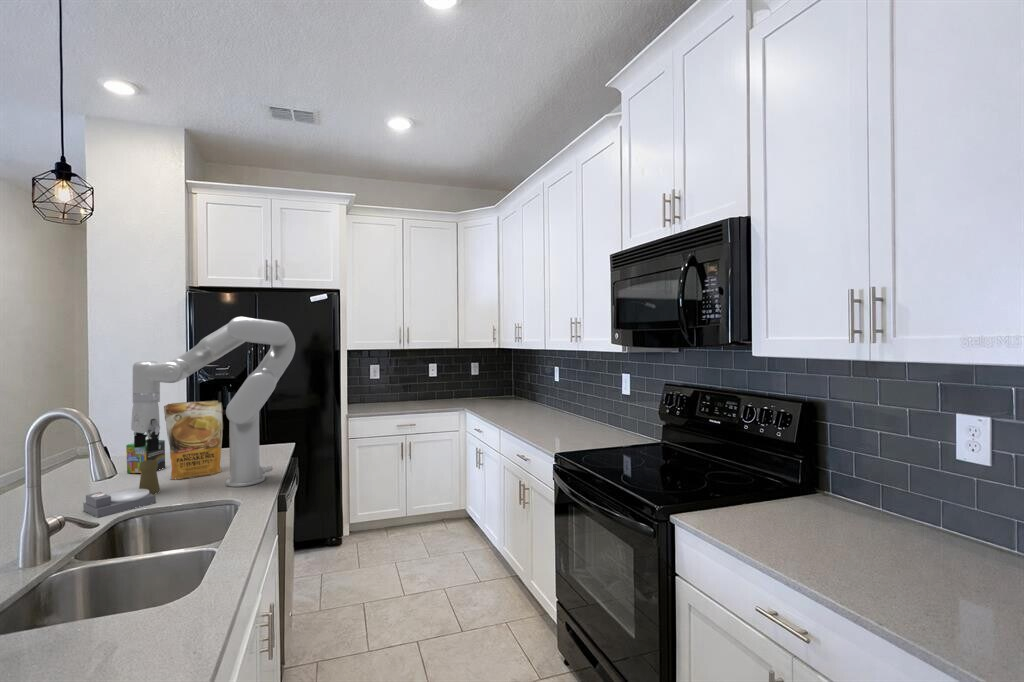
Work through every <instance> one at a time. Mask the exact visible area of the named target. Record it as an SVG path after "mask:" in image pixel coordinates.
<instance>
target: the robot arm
mask: <svg viewBox="0 0 1024 682" xmlns="http://www.w3.org/2000/svg"><path fill="white" fill-rule="evenodd" d="M246 342H247V343H252V344H253V343H254V344H261V345H270V348H269V350H268V351H267V353H266V354H265V356H264V357H263V359H262V360H261V361H260V363H259V364H258V366H257V367H256V368H255V369H254V370H253V371H252V372H251V373H250V374H249V375H248V376H247V377H246V379H245V380H244V382H243V383H242V384H241V386H240V387H239V388H238V390H237V392H235V394H234V396H233V397H232V398H231V399H230V401H229V403H227V405H226V409H225V415H226V418H227V419H228V421H229V422H228V423H229V425H228V426H229V428H228V430H229V431H228V432H229V435H228V439H229V440H228V441H229V443H228V444H229V475H230V476H229V478H227V479H226V480H224V481H225V483H224V484H225V486H227V487H233V488H235V487H237V488H238V487H247V486H253V485H256V484H259V483H262V482H264V481H265V479H266V477H265V475H264V474H265V473H269V472H273V470H274V468H273V465H269V466H260V464H261V463H260V462H261V459H260V411H261V409H262V408H263V407H264V405H265V404H266V402H267V401H268V400H269V398H270V396H271V395H272V393H273V392H274V390H275V389H276V387H277V383H278V382H279V381H280V378H281V377H282V376H283V374H284V373H285V372H286V369H287V368H288V367H289V365H290V363H291V362H292V360H293V358H294V355H295V353H296V341H295V337H294V335H293V332H292V331H291V329H290V327H289V326H288V325H287V324H285V323H284V322H281V321H277V320H276V321H275V320H270V319H269V320H268V319H261V318H254V317H253V318H252V317H248V316H242V315H241V316H236V317H234V318H232V319H231V320H230V321H229V322H228V323H226V324H225V325H223V326H221V327H220V328H218V329H217V330H215V331H214V332H212V333H210V334H208V335H207V336H205V337H203V338H202V339H200V341H199V342H198V343H197V344H196V345H194V347H192V348H191V349H189V350H187V351H185V353H183V354H181V355H179V356H178V357H176V358H174V359H172V360H168V361H160V362H158V361H153V360H152V361H151V360H150V361H149V360H148V361H147V360H146V361H136V362H134V363H133V364H132V409H131V410H132V411H131V423H130V424H131V425H130V426H131V428H130V429H131V430H132V431H133V438H134V439H133V443H134V447H135V448H137V447H144V446H146V440H147V451H155V450H158V449H159V440H160V439H159V438H160V430H161V425H160V407H159V403H161V402H160V401H161V383H164V384H175V383H178V382H180V381H183V380H185V379H186V378H188V377H189V376H191V375H193V374H194V373H196V372H198V371H199V370H200V369H202V368H204V367H205V366H208V365H209V364H210V363H213V362H215V361H217V360H218V359H220V358H222V357H224V355H226V354H228V353H229V352H232V351H233V350H234V349H236V348H238V347H240V346H241V345H243V344H245V343H246ZM145 433H146V434H147V437H146V435H145ZM151 433H152V434H151ZM146 438H147V439H146Z"/></svg>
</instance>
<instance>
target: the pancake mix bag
mask: <svg viewBox="0 0 1024 682" xmlns="http://www.w3.org/2000/svg"><path fill="white" fill-rule="evenodd" d="M223 411H224V409H223V403H222V402H219V400H214V399H213V400H205V401H204V400H203V401H188V402H187V401H185V402H184V401H183V402H173V403H168V404H165V405H164V406H163V413H164V420H165V425H166V426H165V427H166V434H167V435H166V436H167V439H168V445H169V457H170V462H171V473H170V477H169V480H178V479H179V480H184V479H183V478H187V479H191V478H190V477H194V478H198V477H197V476H200V477H206V476H205V475H208V476H212V475H211V474H213V475H216V474H218V473H222V469H221V458H222V445H223V430H224V420H223V419H224V418H223V416H224V415H223ZM175 478H176V479H175Z"/></svg>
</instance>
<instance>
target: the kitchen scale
mask: <svg viewBox="0 0 1024 682" xmlns="http://www.w3.org/2000/svg"><path fill="white" fill-rule="evenodd" d="M156 500H157V496H156V494H151V493H149V490H148V489H139V488H133V489H127V490H126V489H125V490H120V491H117V492H112V493H110V494H106V493H103V492H101V491H99V492H94V493H90V494H86V495H85V502H83V507H82V508H83V512H85V513H87V512H88V513H87V514H89V513H90V514H89V515H91V514H92V516H93V515H95V516H97V517H98V518H101V517H100V516H102V517H105V516H104V515H106V516H109V515H108V514H110V515H113V513H114V514H117V513H116V512H118V513H121V512H120V511H122V512H124V510H126V511H129V510H128V509H130V510H132V509H131V508H134V509H136V508H135V507H138V508H140V507H139V506H142V507H144V506H143V505H145V506H148V504H149V505H152V504H151V503H153V504H156V503H157V501H156ZM155 502H156V503H155ZM95 516H94V517H95ZM97 517H96V518H97Z"/></svg>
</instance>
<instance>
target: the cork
mask: <svg viewBox="0 0 1024 682" xmlns="http://www.w3.org/2000/svg"><path fill="white" fill-rule="evenodd" d="M157 468H158V462H157V461H156V460H147V461H143V462H141V463H140V465H139V469H140V471H141V474H140V480H139V487H138V489H148V490H149V493H151V494H153V495H156V494H155V493H157V494H159V493H160V492H161V490H160V484H159V479H158V471H156V469H157ZM159 491H160V492H159ZM158 492H159V493H158Z"/></svg>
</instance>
